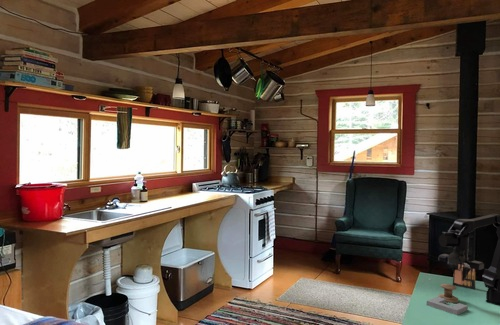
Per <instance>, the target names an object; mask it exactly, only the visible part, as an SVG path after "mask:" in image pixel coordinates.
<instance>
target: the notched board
mask: <svg viewBox="0 0 500 325" xmlns="http://www.w3.org/2000/svg"><path fill="white" fill-rule="evenodd" d="M426 306H429V307H432V308H435V309H438V310H440V311H444V312H447V313H449V314H453V315H456V316H458V315H460V314H462V313H465V312H467V311H468V310H469V308H468V307H469V306H468V305H466V304H463V303H460V302H457V303H454V304H453V305H449V304H447V302H446V299H444V298H441V297H438V296H436V297H433V298H430V299H427V300H426Z"/></svg>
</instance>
